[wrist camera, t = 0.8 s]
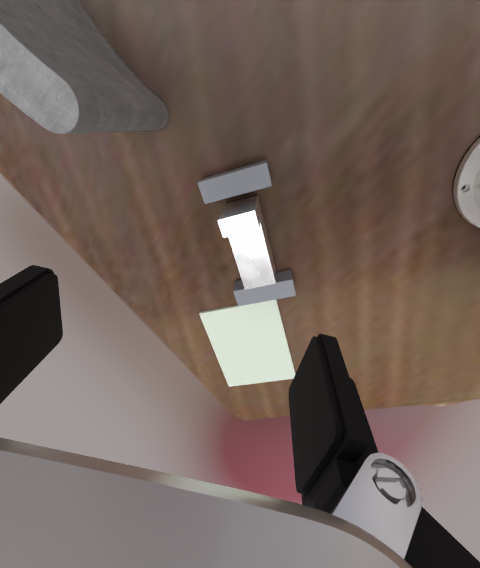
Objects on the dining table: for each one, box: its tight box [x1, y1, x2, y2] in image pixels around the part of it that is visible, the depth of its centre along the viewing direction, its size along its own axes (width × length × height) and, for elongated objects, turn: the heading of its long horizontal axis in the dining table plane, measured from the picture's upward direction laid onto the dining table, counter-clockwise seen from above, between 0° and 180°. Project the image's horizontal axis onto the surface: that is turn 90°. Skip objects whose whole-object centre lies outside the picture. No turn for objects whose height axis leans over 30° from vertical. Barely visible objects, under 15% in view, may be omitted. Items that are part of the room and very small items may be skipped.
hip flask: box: [0, 0, 169, 134], centre depth 22 cm, size 16×4×20 cm, turn 40°
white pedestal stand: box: [217, 195, 276, 290], centre depth 35 cm, size 4×10×8 cm, turn 16°
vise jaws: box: [198, 160, 296, 306], centre depth 37 cm, size 8×17×3 cm, turn 16°
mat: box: [199, 300, 295, 387], centre depth 47 cm, size 12×16×1 cm
